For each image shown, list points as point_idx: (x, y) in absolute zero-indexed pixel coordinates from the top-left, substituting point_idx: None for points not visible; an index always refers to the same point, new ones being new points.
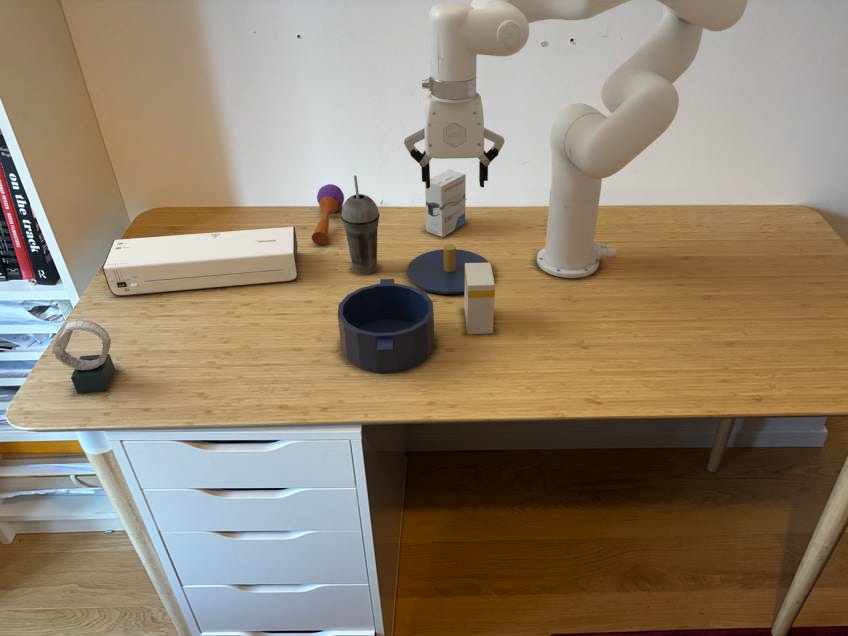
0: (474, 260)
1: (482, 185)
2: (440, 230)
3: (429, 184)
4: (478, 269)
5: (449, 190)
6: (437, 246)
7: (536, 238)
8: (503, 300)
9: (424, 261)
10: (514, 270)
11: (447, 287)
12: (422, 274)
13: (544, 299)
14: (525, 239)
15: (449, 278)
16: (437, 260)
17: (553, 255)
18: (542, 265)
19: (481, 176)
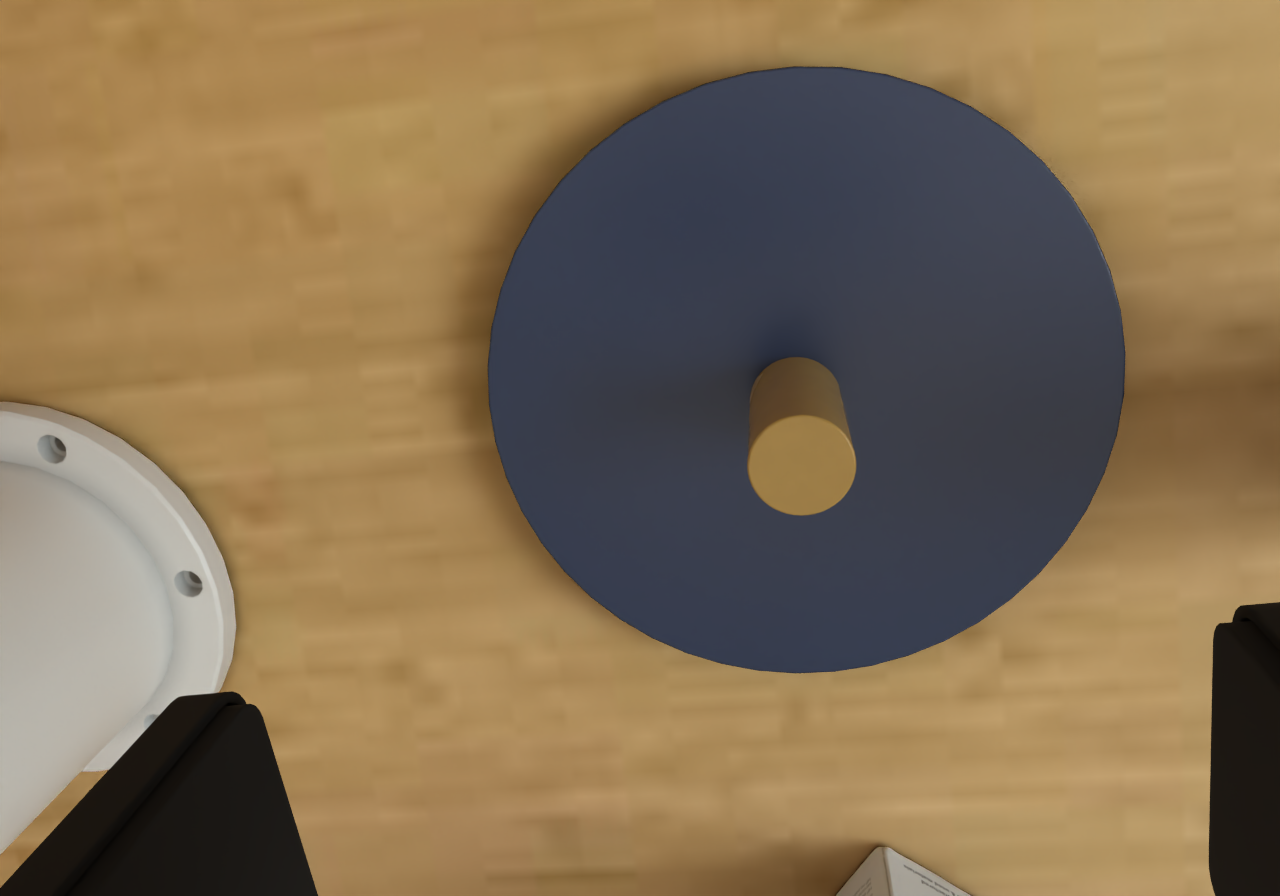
0: (628, 534)
1: (192, 704)
2: (901, 884)
3: (1259, 653)
4: None
5: None
6: (909, 737)
7: None
8: (373, 71)
9: (995, 493)
10: (359, 476)
11: (790, 132)
12: (1001, 307)
13: (104, 123)
14: (349, 841)
15: (786, 270)
16: (896, 514)
17: (50, 533)
18: (166, 504)
19: (113, 823)
